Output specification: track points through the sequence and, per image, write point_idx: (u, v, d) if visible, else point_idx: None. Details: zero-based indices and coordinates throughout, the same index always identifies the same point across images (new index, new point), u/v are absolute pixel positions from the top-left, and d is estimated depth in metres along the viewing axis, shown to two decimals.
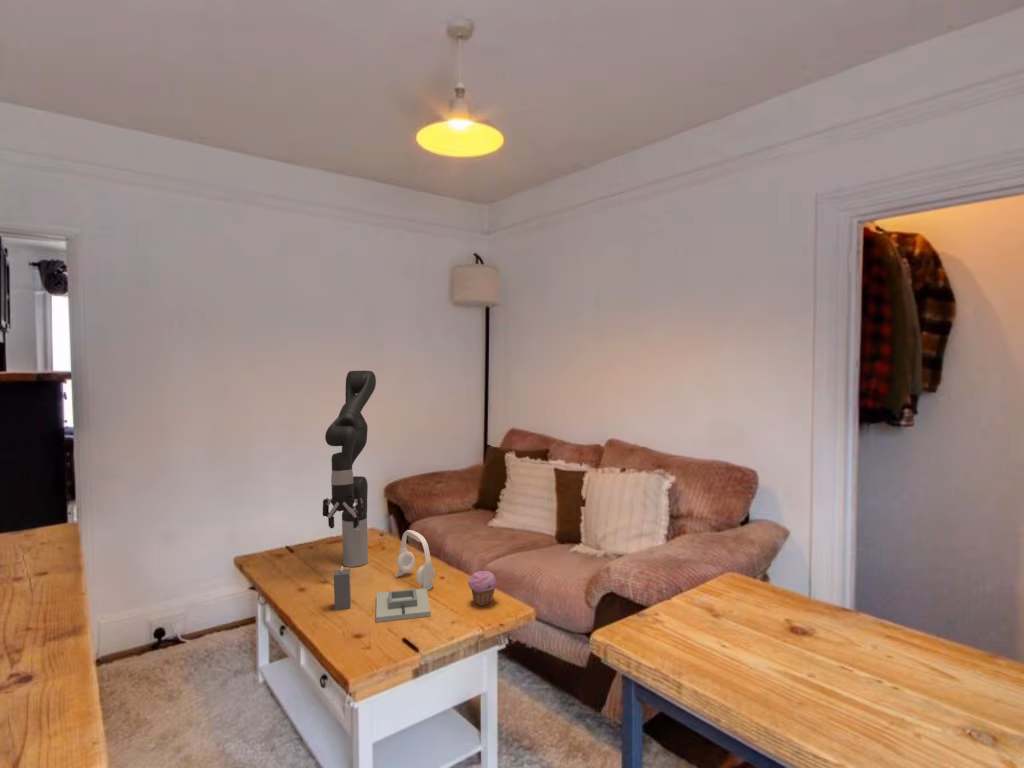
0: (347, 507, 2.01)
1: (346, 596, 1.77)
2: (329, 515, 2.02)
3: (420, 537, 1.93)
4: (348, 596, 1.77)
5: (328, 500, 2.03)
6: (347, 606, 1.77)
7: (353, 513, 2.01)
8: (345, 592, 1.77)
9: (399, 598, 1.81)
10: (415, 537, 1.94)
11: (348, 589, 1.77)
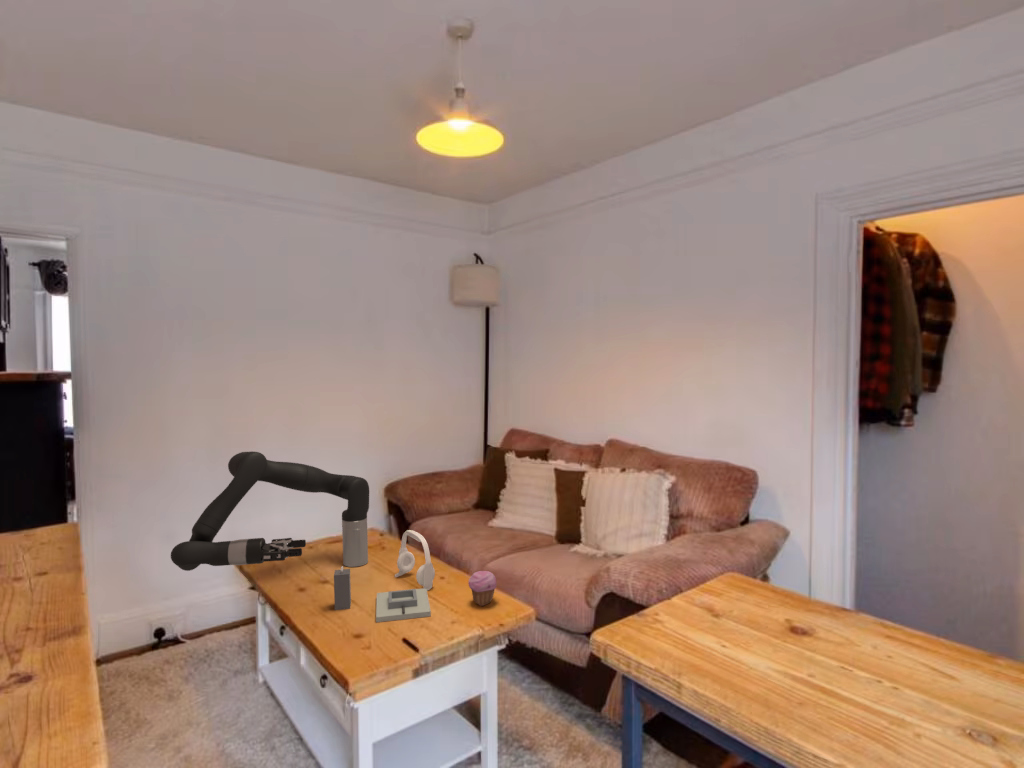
0: None
1: (346, 596, 1.77)
2: None
3: (420, 537, 1.93)
4: (348, 596, 1.77)
5: None
6: (347, 606, 1.77)
7: None
8: (345, 592, 1.77)
9: (399, 598, 1.81)
10: (415, 537, 1.94)
11: (348, 589, 1.77)
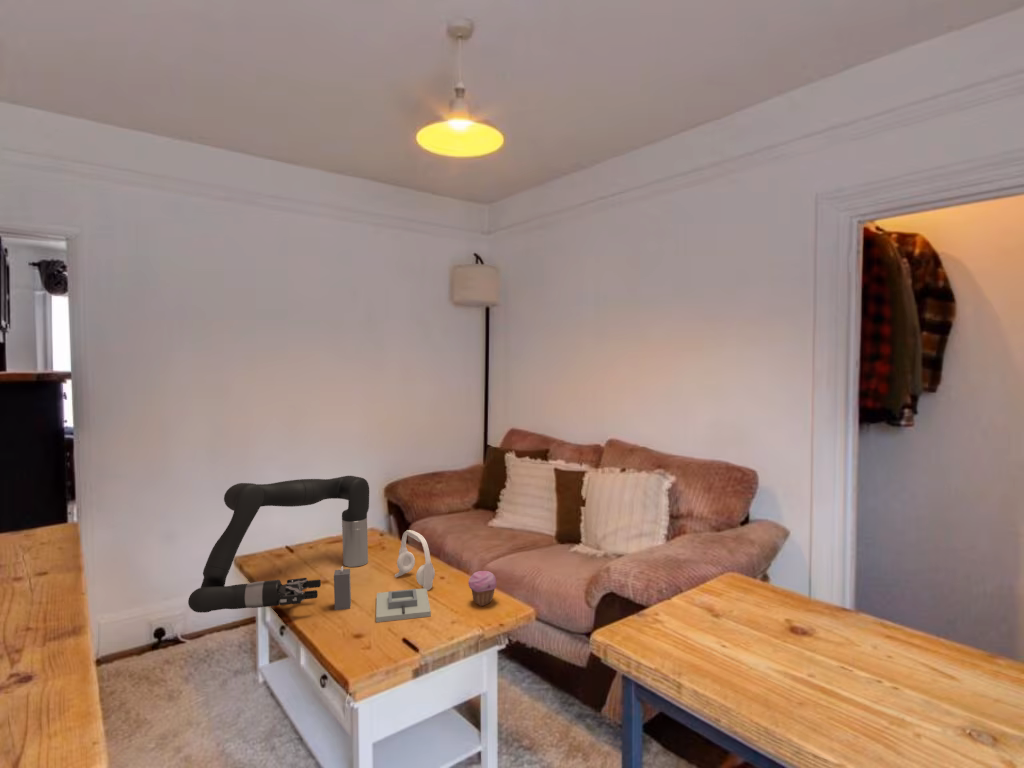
0: None
1: (346, 596, 1.77)
2: None
3: (420, 537, 1.93)
4: (348, 596, 1.77)
5: None
6: (347, 606, 1.77)
7: None
8: (345, 592, 1.77)
9: (399, 598, 1.81)
10: (415, 537, 1.94)
11: (348, 589, 1.77)
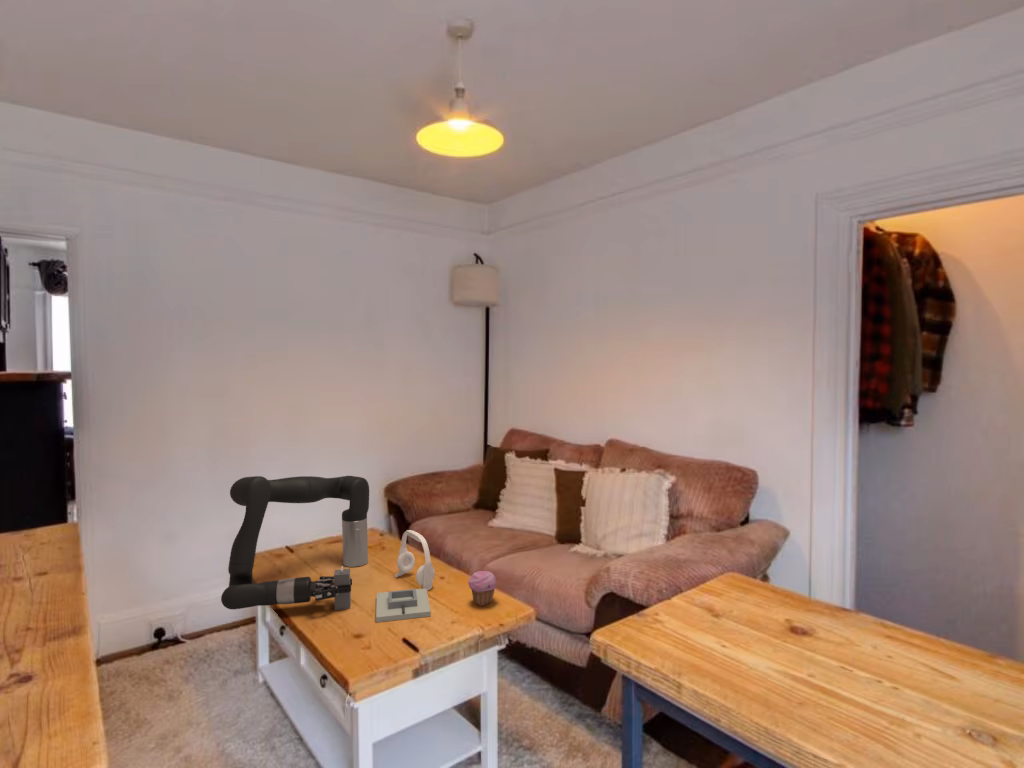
0: None
1: (346, 596, 1.77)
2: None
3: (420, 537, 1.93)
4: (348, 596, 1.77)
5: None
6: (347, 606, 1.77)
7: None
8: None
9: (399, 598, 1.81)
10: (415, 537, 1.94)
11: None
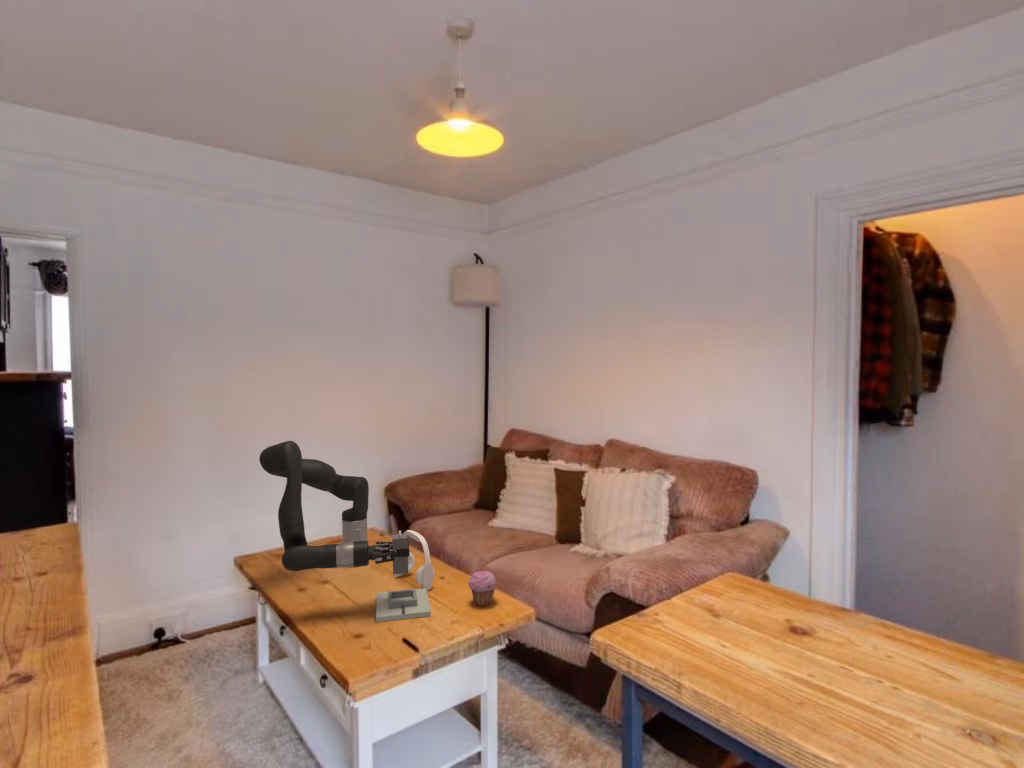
0: None
1: (405, 560, 1.76)
2: None
3: (420, 537, 1.93)
4: (406, 560, 1.76)
5: None
6: (405, 570, 1.76)
7: None
8: None
9: (399, 598, 1.81)
10: (415, 537, 1.94)
11: None
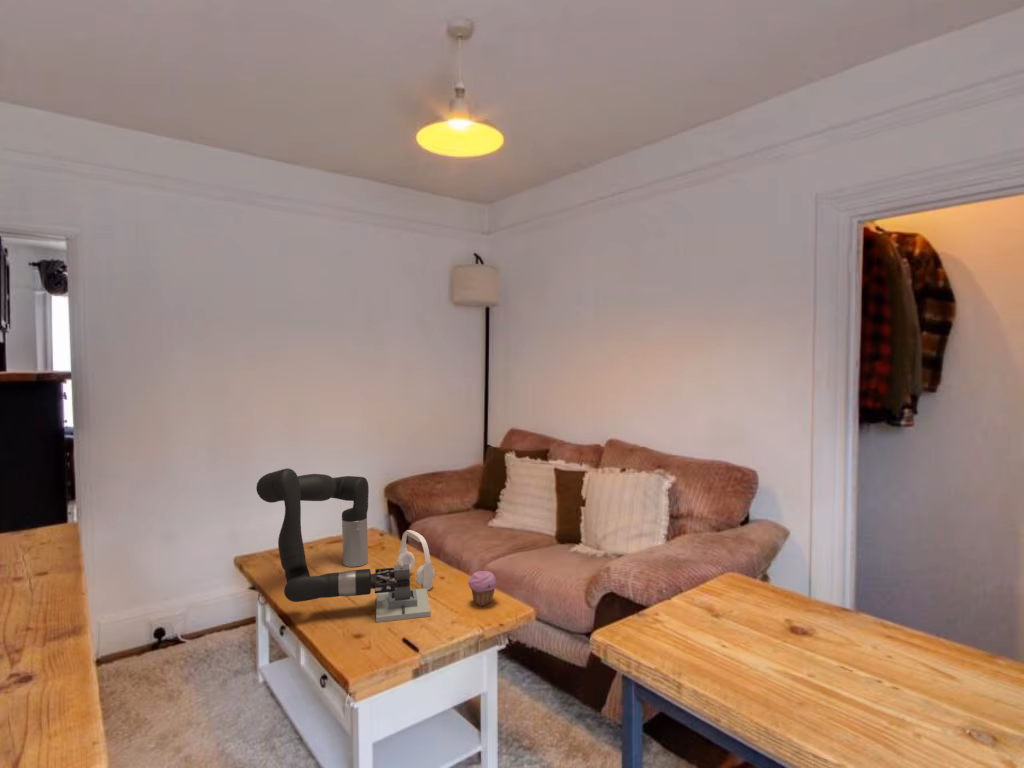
0: None
1: (407, 591, 1.76)
2: None
3: (420, 537, 1.93)
4: (408, 591, 1.76)
5: None
6: None
7: None
8: (405, 587, 1.76)
9: None
10: (415, 537, 1.94)
11: None
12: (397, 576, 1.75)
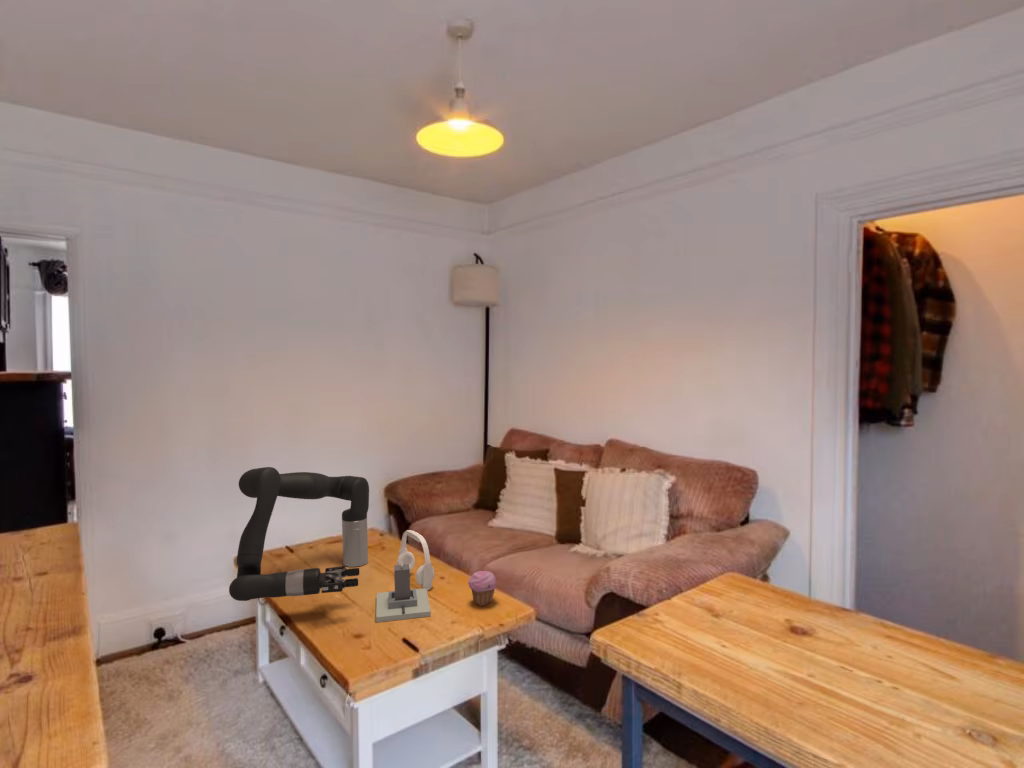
0: None
1: (407, 591, 1.76)
2: None
3: (420, 537, 1.93)
4: (408, 591, 1.76)
5: None
6: None
7: None
8: (405, 587, 1.76)
9: None
10: (415, 537, 1.94)
11: (408, 584, 1.76)
12: (397, 576, 1.75)
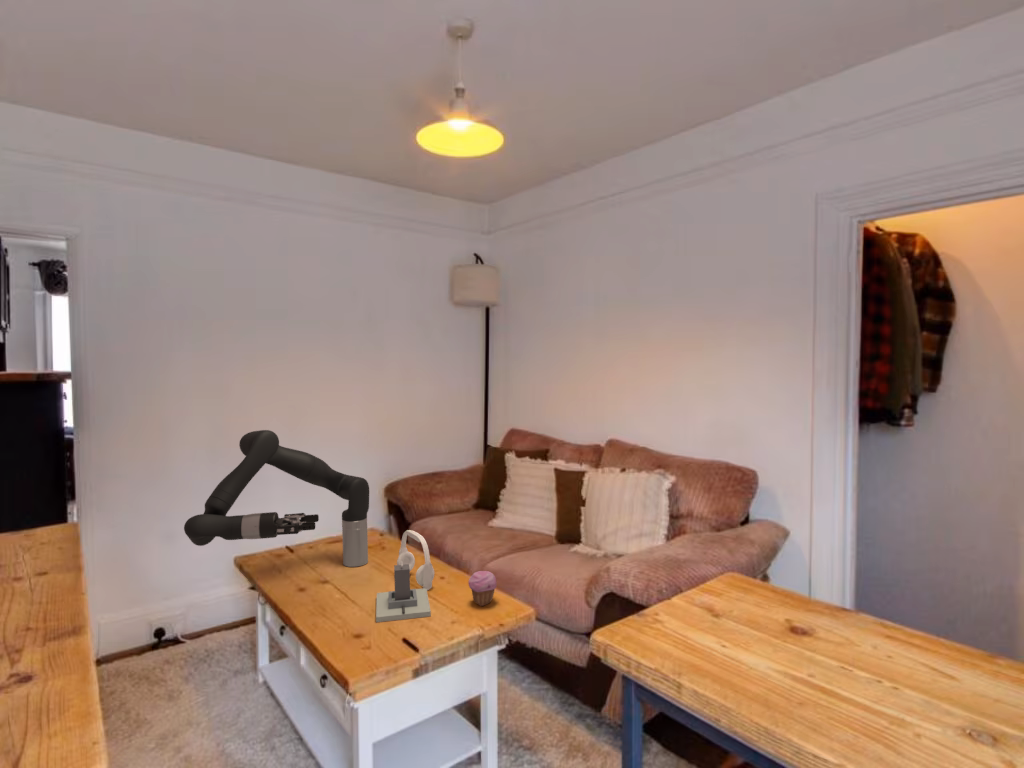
0: None
1: (407, 591, 1.76)
2: (302, 522, 1.78)
3: (420, 537, 1.93)
4: (408, 591, 1.76)
5: None
6: None
7: None
8: (405, 587, 1.76)
9: None
10: (415, 537, 1.94)
11: (408, 584, 1.76)
12: (397, 576, 1.75)
